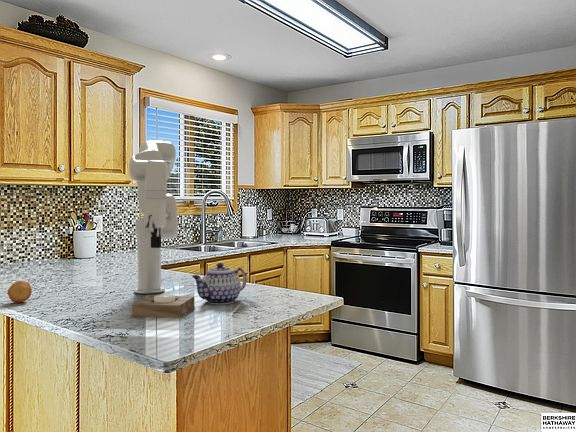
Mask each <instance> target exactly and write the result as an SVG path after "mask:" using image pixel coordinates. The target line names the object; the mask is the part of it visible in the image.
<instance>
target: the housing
mask: <svg viewBox="0 0 576 432" xmlns="http://www.w3.org/2000/svg"><path fill="white" fill-rule="evenodd" d="M154 296H155V295H149V296H147V297H145V298H143V299H141V300H140V301H137V302H134V303H132V305H131V309H132V310H131V312H132V314H131V315H132V318H133V317H134V318H135V317H136V318H173V319H174V318H177V319H179V318H182V317H183V316H184V315H185V314H187V313H188V312H190V311H192V309H194V308H195V296H194V295H193V296H191V295H185V296H184V295H175V301H174V302H172V303H157V302H154Z"/></svg>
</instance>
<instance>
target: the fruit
mask: <svg viewBox="0 0 576 432" xmlns="http://www.w3.org/2000/svg"><path fill="white" fill-rule="evenodd" d="M32 292H33V291H32V286H31V284H30V283H29V282H28V281H23V280H17V281H15V282H13V283H12V284H11V285H10V287H9V288H8V290H7V295H8V299H10V301H12V302H14V303H25V302H26V301H28V300H29V298H30V297H31V295H32Z"/></svg>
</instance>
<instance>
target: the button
mask: <svg viewBox="0 0 576 432" xmlns="http://www.w3.org/2000/svg"><path fill="white" fill-rule="evenodd" d="M153 296H154V302H157V303H172V302H174V301H175V296H176V295H175V294H157V295H153Z"/></svg>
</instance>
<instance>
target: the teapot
mask: <svg viewBox="0 0 576 432" xmlns="http://www.w3.org/2000/svg"><path fill="white" fill-rule="evenodd" d="M224 265H225V264H224V263H223V262H217V263H216V267H213V268H209V269H207V272H206V274H205V275H203V276H202V277H201V276H200V275H198V274H194V275H192V276H191V277H192V278H193V279H194V280H195V283H196V291H197V294H198V296H199V298H201V299H202V300H206V301H207V303H208V304H210V305H229V304H233V303H234V302H235V301H236V299H237V298H238V297H239V295H240V294H241V291H243V290H244V289H245V287H246V285H247V281H248V279H247V278H248V277H247V274H246V272H245V270H244V269H243V268H241V267H237V268H235V270H234V269H233V268H230V267H227V266H226V267H224ZM239 272H241V274H242V284H241V278H240V276H239V275H238V273H239Z"/></svg>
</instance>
